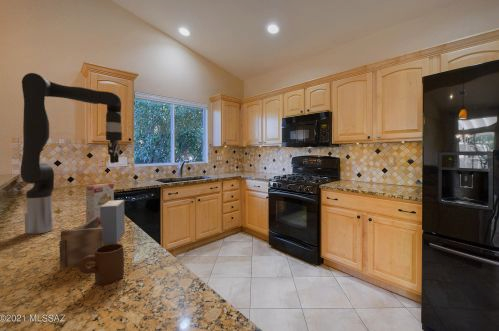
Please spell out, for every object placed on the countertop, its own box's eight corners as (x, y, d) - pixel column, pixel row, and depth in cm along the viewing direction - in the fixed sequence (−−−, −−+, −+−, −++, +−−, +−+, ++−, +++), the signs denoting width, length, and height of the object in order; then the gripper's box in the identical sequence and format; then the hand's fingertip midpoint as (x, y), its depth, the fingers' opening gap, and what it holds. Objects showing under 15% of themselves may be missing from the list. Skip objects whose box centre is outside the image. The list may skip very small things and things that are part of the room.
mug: (85, 296, 62) (85, 261, 61) (72, 287, 66) (71, 255, 65) (129, 276, 72) (128, 246, 72) (115, 270, 76) (115, 241, 75)
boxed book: (100, 244, 98) (100, 206, 97) (110, 233, 111) (109, 200, 110) (117, 243, 99) (116, 205, 99) (124, 232, 113) (124, 199, 112)
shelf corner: (60, 268, 77) (59, 232, 76) (94, 236, 107) (94, 210, 107) (101, 263, 80) (100, 229, 80) (123, 233, 111) (123, 209, 110)
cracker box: (95, 224, 126) (94, 186, 125) (85, 223, 127) (84, 185, 126) (114, 217, 140) (114, 183, 139) (106, 217, 141) (105, 182, 140)
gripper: (110, 132, 130) (110, 162, 131) (101, 129, 117) (102, 163, 117) (124, 133, 133) (125, 162, 133) (118, 130, 119) (118, 163, 119)
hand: (114, 162), depth 125 cm, fingers open, 6 cm apart
